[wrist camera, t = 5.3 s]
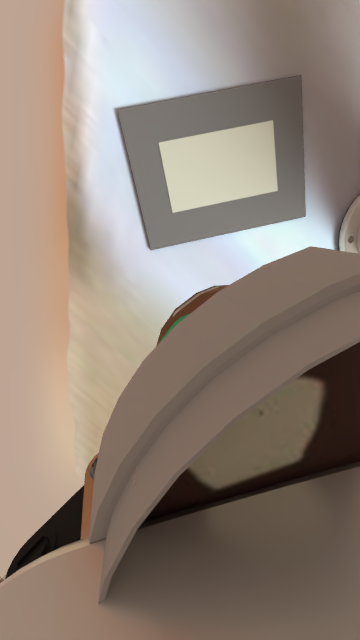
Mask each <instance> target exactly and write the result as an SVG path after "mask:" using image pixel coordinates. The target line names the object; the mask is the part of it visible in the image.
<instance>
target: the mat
mask: <svg viewBox="0 0 360 640" xmlns="http://www.w3.org/2000/svg"><path fill="white" fill-rule="evenodd" d="M118 114H119V118H120V123H121V127H122V131H123V135H124V139H125V144H126V148H127V152H128V156H129V160H130V165H131V169H132V173H133V177H134V181H135V186H136V190H137V194H138V198H139V202H140V206H141V211H142V215H143V219H144V223H145V227H146V232H147V236H148V240H149V244H150V248H151V250H154V249H159V248H163V247H168V246H173V245H177V244H182V243H186V242H191V241H196V240H200V239H205V238H209V237H214V236H219V235H223V234H228V233H232V232H237V231H242V230H246V229H251V228H256V227H260V226H265V225H269V224H274V223H279V222H283V221H288V220H292V219H297V218H302V217H305V216H306V210H305V179H304V148H303V117H302V87H301V75H299V76H294V77H288V78H283V79H278V80H272V81H267V82H262V83H256V84H251V85H246V86H240V87H235V88H230V89H224V90H219V91H214V92H209V93H203V94H198V95H193V96H187V97H182V98H177V99H171V100H166V101H161V102H155V103H150V104H145V105H139V106H134V107H129V108H123V109H118Z"/></svg>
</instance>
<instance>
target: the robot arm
mask: <svg viewBox="0 0 360 640" xmlns="http://www.w3.org/2000/svg"><path fill="white" fill-rule="evenodd" d="M339 247H340V251H345V252H352V253H359V254H360V195H359V196H358V197H357V198H356V199H355V201H354V202H353V203H352V205H351V206H350V208H349V209H348V211H347V213H346V215H345V217H344V220H343V223H342V226H341V230H340V236H339ZM98 455H99V453H98V454H97V455H96V456H95V457H94V458H93V459H92V460H91V462H90V463H89V465H88V467H87V469H86V473H85V484H84V486H83V487H82V488H81V489H80V490H79V491H78V492H76V493H75V494H74V495H73V496H72V497H71V498H70V499H69V500H68V501H67V502H66V503H65V504H64V505H63V506H62V507H61V508H60V509H59V510H58V511H57V512H56V513H55V514H54V515H53V516H52V517H51V518H50V519H49V520H48V521H47V522H46V523H45V524H44V525H43V526H42V527H41V528H40V529H39V530H38V531H37V532H36V533H35V534H34V535H33V536H32V537H31V538H30V539H29V540H28V541H27V542H26V543H25V544H24V545H23V546H22V548H21V549H20V550H19V552H18V553H17V555H16V556H15V558H14V559H13V561H12V563H11V565H10V567H9V569H8V572H7V574H6V575H5V576H4V577H3V578H1V577H0V640H360V461H359V462H355V463H351V464H348V465H344V466H340V467H337V468H333V469H329V470H325V471H321V472H318V473H314V474H311V475H307V476H304V477H300V478H297V479H293V480H290V481H286V482H283V483H279V484H276V485H272V486H269V487H265V488H262V489H258V490H255V491H251V492H248V493H244V494H241V495H237V496H233V497H230V498H226V499H223V500H219V501H216V502H212V503H209V504H205V505H202V506H198V507H194V508H189V509H186V510H182V511H179V512H176V513H172V514H168V515H165V516H161V517H158V518H155V519H151V520H148V521H145V522H143V523H142V524H141V525H140V526H139V528H138V529H137V531H136V533H135V535H134V536H133V538H132V540H131V542H130V544H129V546H128V548H127V549H126V551H125V553H124V555H123V557H122V559H121V561H120V563H119V564H118V566H117V568H116V570H115V572H114V574H113V576H112V578H111V581H110V585H109V588H108V592H107V595H106V599H104V600H103V601H102V602H100V603H99V604H98V599H99V591H100V582H101V574H102V566H103V558H104V550H105V542H106V538H105V539H102V540H100V541H97V542H94V543H91V544H89V530H90V519H91V509H92V498H93V488H94V477H95V468H96V464H97V459H98Z"/></svg>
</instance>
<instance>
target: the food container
mask: <svg viewBox="0 0 360 640" xmlns="http://www.w3.org/2000/svg"><path fill="white" fill-rule="evenodd" d="M359 461H360V254H359V253H352V252H345V251H338V250H331V249H325V248H318V247H308V248H306V249H303V250H301V251H298V252H296V253H293V254H291V255H288V256H286V257H283V258H281V259H278V260H276V261H273V262H271V263H268V264H266V265H263V266H262V267H260V268H258V269H256V270H255V271H253V272H251V273H250V274H248V275H246V276H244V277H243V278H241V279H239V280H237V281H236V282H234V283H232V284H231V285H223V286H213V287H210V288H208V289H205V290H203V291H200V292H198V293H196V294H195V295H193V296H192V297H191V298H189V299H188V300H187V301H185V302H184V303H183V304H181V305H180V306H179V307H177V308H176V309H175V311H174V312H173V313H172V315H171V316H170V318H169V319H168V320H167V322H166V323H165V325H164V326H163V328H162V329H161V332H160V336H159V339H158V342H157V346H156V348H155V349H154V350H153V351H152V352H151V353H150V354H149V355H148V356H147V357H146V358H145V360H144V361H143V362H142V364H141V365H140V367H139V368H138V370H137V371H136V373H135V374H134V376H133V377H132V379H131V380H130V382H129V383H128V385H127V386H126V388H125V389H124V391H123V392H122V394H121V395H120V397H119V399H118V401H117V403H116V406H115V408H114V410H113V413H112V415H111V417H110V420H109V422H108V424H107V426H106V429H105V431H104V433H103V437H102V441H101V446H100V450H99V455H98V459H97V464H96V468H95V477H94V488H93V498H92V509H91V519H90V530H89V544H91V543H94V542H97V541H100V540H102V539H105V538H106V542H105V550H104V558H103V566H102V574H101V582H100V591H99V599H98V604H99V603H100V602H102V601H103V600H104V599H106V595H107V592H108V588H109V585H110V581H111V578H112V576H113V574H114V572H115V570H116V568H117V566H118V564H119V563H120V561H121V559H122V557H123V555H124V553H125V551H126V549H127V548H128V546H129V544H130V542H131V540H132V538H133V536H134V535H135V533H136V531H137V529H138V528H139V526H140V525H141V524H142V523H143V522H145V521H148V520H151V519H155V518H158V517H161V516H165V515H168V514H172V513H176V512H179V511H182V510H186V509H189V508H194V507H198V506H202V505H205V504H209V503H212V502H216V501H219V500H223V499H226V498H230V497H233V496H237V495H241V494H244V493H248V492H251V491H255V490H258V489H262V488H265V487H269V486H272V485H276V484H279V483H283V482H286V481H290V480H293V479H297V478H300V477H304V476H307V475H311V474H314V473H318V472H321V471H325V470H329V469H333V468H337V467H340V466H344V465H348V464H351V463H355V462H359Z"/></svg>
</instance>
